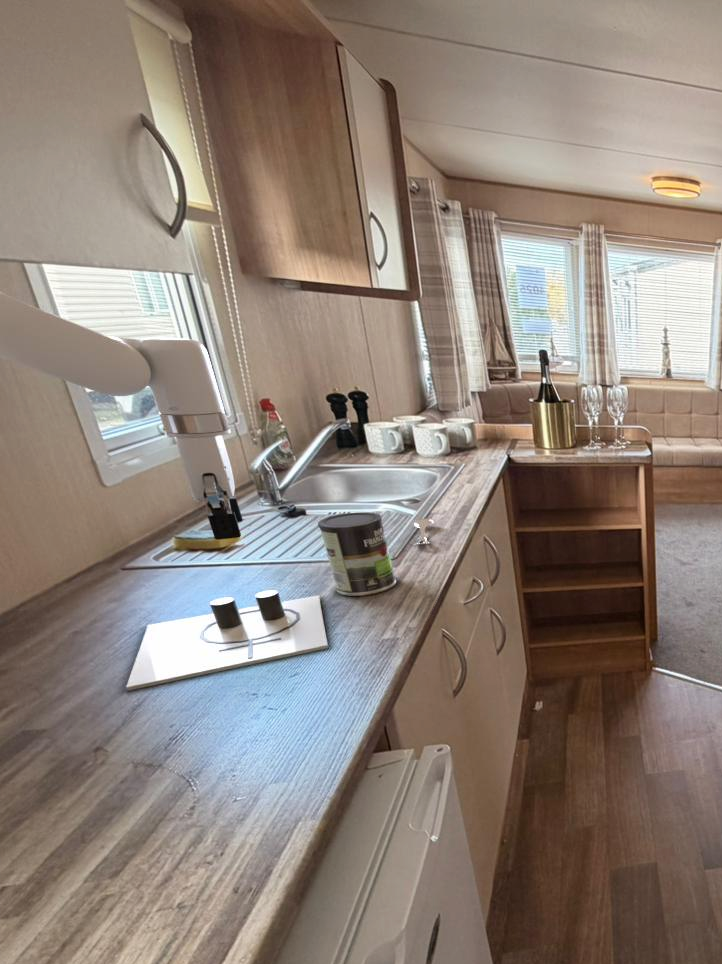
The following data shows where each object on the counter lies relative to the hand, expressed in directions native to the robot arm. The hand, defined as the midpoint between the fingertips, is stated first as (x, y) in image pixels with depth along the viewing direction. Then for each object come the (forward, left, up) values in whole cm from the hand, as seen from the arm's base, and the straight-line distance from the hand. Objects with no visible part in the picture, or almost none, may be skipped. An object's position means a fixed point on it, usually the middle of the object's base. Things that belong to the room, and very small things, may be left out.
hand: (229, 529), depth 105 cm
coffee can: (+17, +10, -18) cm, 26 cm away
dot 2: (+2, +1, -17) cm, 17 cm away
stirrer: (+31, +36, -18) cm, 51 cm away
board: (-3, -4, -17) cm, 18 cm away
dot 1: (-4, +1, -17) cm, 17 cm away
